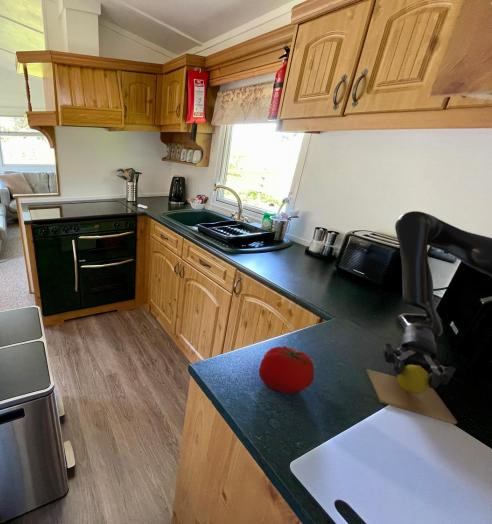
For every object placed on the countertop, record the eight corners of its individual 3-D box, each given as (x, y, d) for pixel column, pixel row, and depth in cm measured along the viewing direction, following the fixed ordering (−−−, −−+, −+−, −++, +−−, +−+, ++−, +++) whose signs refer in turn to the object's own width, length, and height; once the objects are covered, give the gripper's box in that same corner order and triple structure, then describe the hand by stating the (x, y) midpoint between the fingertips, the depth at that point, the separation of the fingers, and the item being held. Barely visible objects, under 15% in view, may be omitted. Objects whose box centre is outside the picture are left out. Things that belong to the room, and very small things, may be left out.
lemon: (388, 387, 73) (399, 362, 70) (399, 381, 75) (410, 356, 72) (415, 404, 68) (429, 377, 65) (425, 396, 71) (439, 370, 68)
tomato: (247, 370, 77) (255, 337, 73) (291, 369, 78) (301, 337, 75) (268, 404, 66) (278, 368, 63) (319, 402, 68) (332, 367, 64)
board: (430, 388, 75) (431, 385, 74) (456, 424, 64) (457, 422, 64) (365, 371, 79) (366, 368, 79) (380, 402, 69) (381, 399, 69)
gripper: (389, 325, 83) (383, 350, 71) (460, 348, 74) (466, 382, 62) (380, 346, 85) (373, 374, 74) (447, 371, 76) (451, 408, 65)
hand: (416, 378), depth 68 cm, fingers closed on lemon, 5 cm apart
